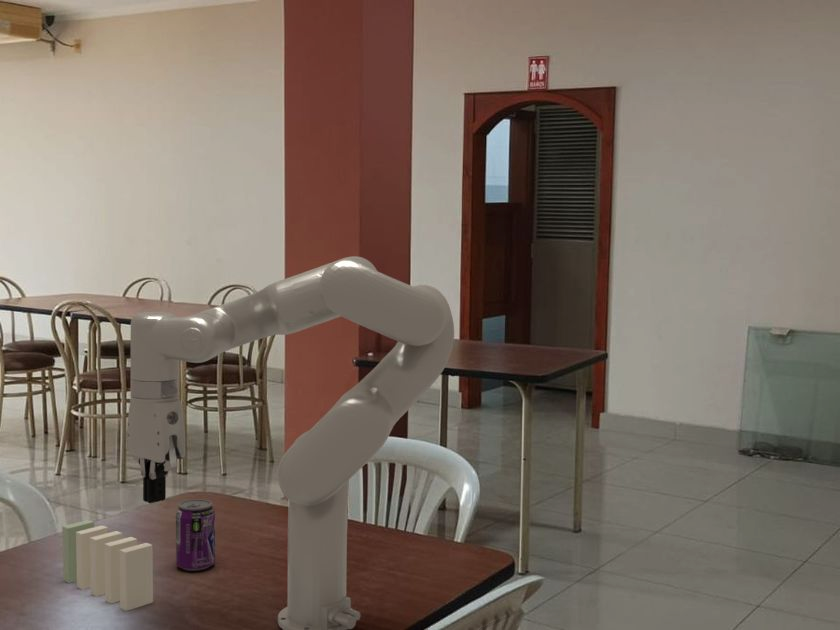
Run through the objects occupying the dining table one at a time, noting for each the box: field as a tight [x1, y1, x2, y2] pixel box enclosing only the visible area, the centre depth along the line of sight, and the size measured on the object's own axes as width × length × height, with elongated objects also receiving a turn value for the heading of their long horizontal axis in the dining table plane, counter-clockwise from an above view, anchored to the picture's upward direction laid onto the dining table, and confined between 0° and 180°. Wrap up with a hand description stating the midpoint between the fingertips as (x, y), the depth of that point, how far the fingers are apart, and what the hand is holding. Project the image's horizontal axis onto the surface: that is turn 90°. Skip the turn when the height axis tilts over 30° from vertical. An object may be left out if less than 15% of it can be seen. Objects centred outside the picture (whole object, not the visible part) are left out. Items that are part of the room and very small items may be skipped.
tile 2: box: [104, 536, 138, 604], centre depth 175 cm, size 2×5×10 cm, turn 139°
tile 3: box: [90, 530, 123, 598], centre depth 178 cm, size 2×5×10 cm, turn 139°
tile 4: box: [76, 525, 109, 591], centre depth 181 cm, size 2×5×10 cm, turn 139°
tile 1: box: [119, 542, 154, 612], centre depth 172 cm, size 2×5×10 cm, turn 139°
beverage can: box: [175, 498, 216, 572], centre depth 190 cm, size 7×7×12 cm
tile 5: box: [61, 519, 95, 584], centre depth 184 cm, size 2×5×10 cm, turn 139°
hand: (154, 500), depth 166 cm, fingers closed
